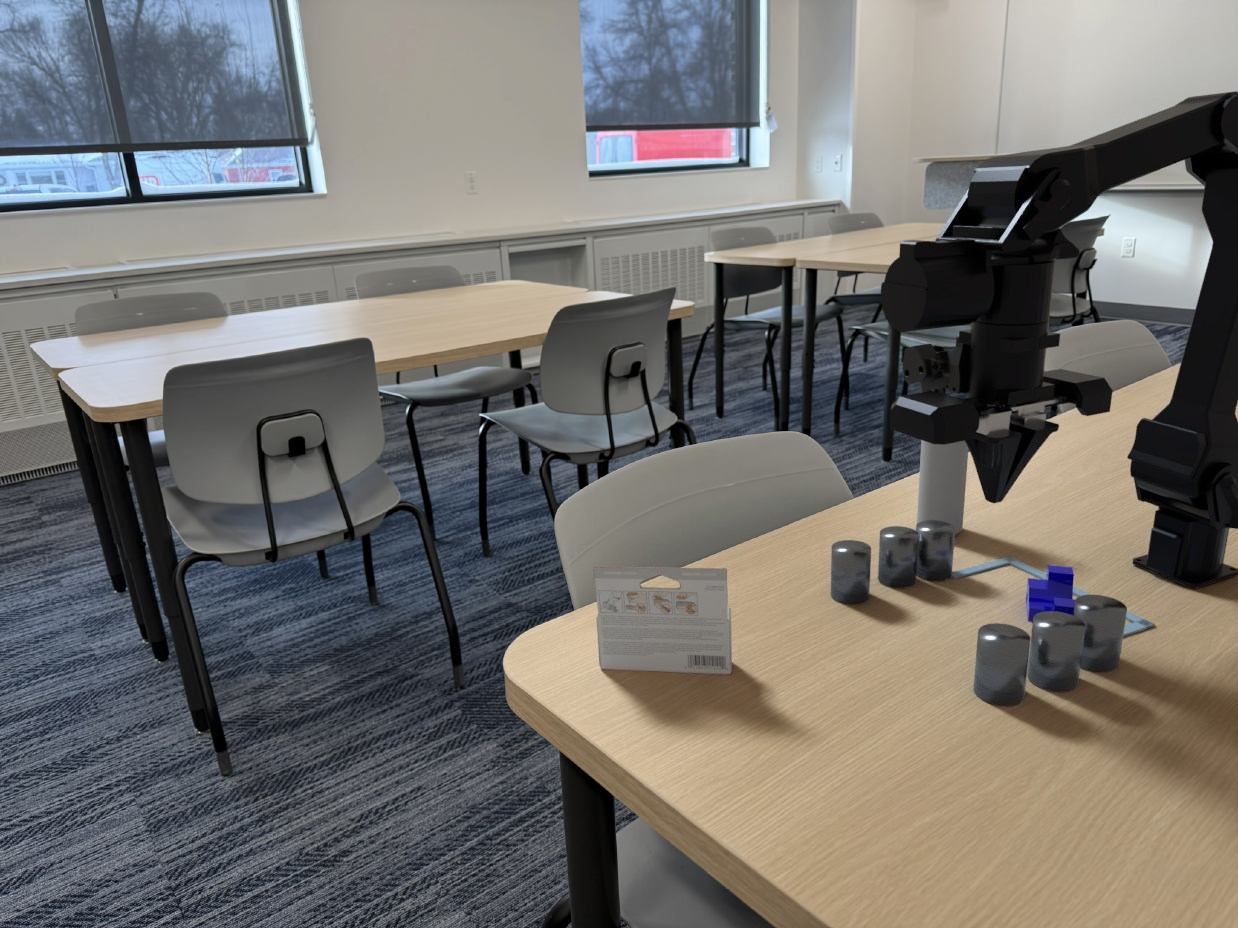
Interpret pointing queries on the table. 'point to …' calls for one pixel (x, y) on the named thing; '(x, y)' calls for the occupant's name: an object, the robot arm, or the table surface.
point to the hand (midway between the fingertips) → (993, 501)
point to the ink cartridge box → (663, 620)
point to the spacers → (999, 646)
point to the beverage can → (942, 483)
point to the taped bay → (1128, 629)
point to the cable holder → (1051, 592)
